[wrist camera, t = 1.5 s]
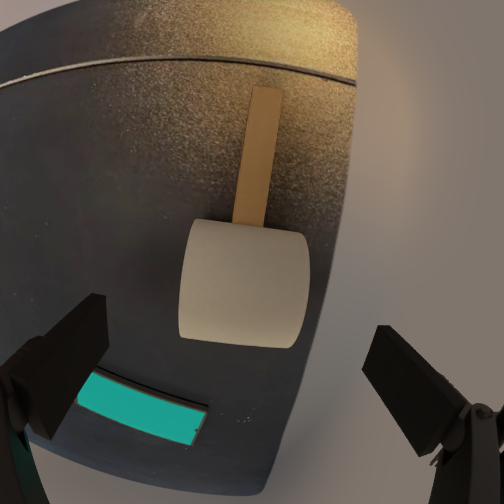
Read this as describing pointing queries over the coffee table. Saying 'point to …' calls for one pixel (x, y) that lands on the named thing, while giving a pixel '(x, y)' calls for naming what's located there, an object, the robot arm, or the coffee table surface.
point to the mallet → (247, 255)
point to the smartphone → (142, 408)
